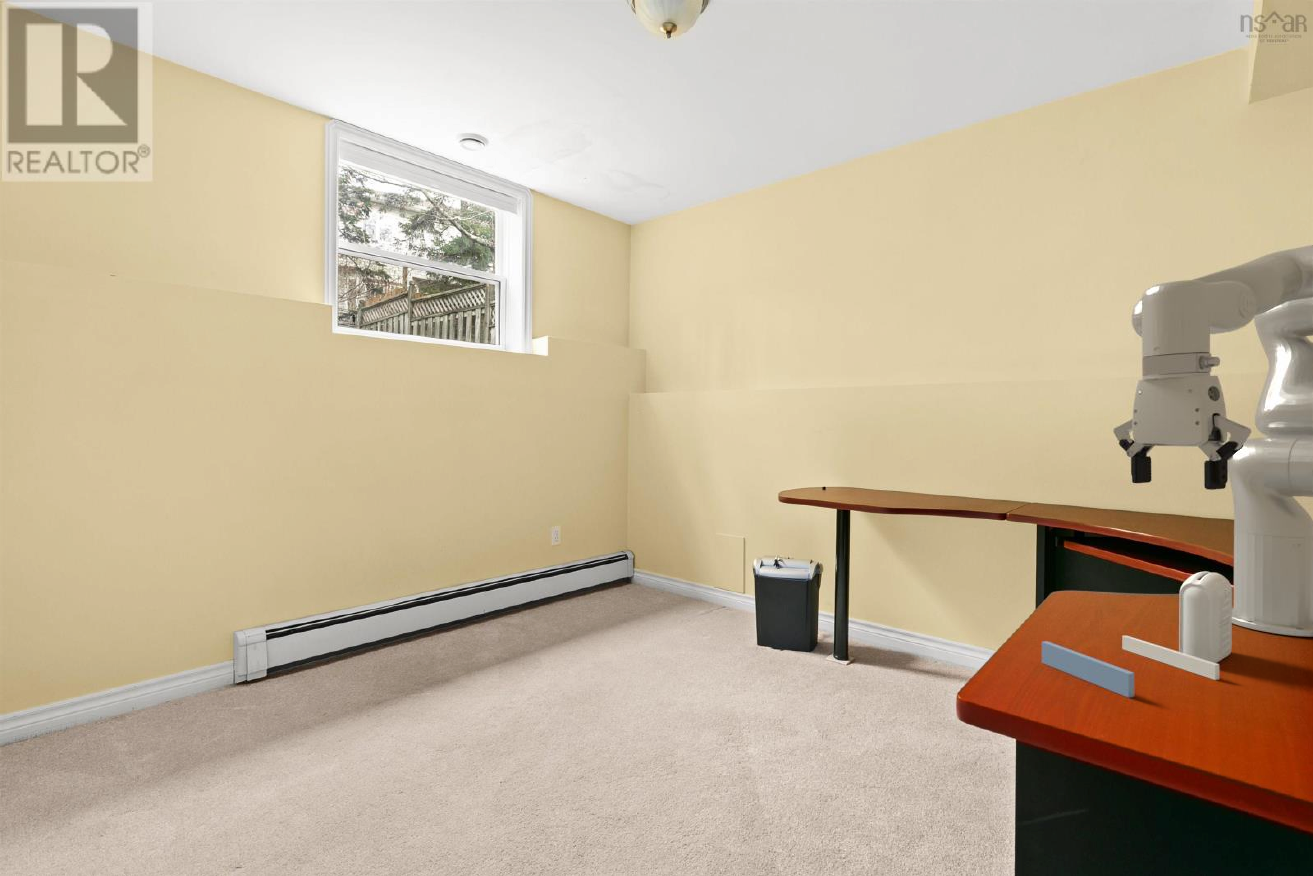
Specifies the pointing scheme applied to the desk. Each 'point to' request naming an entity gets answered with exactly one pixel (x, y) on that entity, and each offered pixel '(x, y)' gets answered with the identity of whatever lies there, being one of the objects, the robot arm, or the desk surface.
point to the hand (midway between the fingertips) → (1176, 485)
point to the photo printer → (1205, 617)
